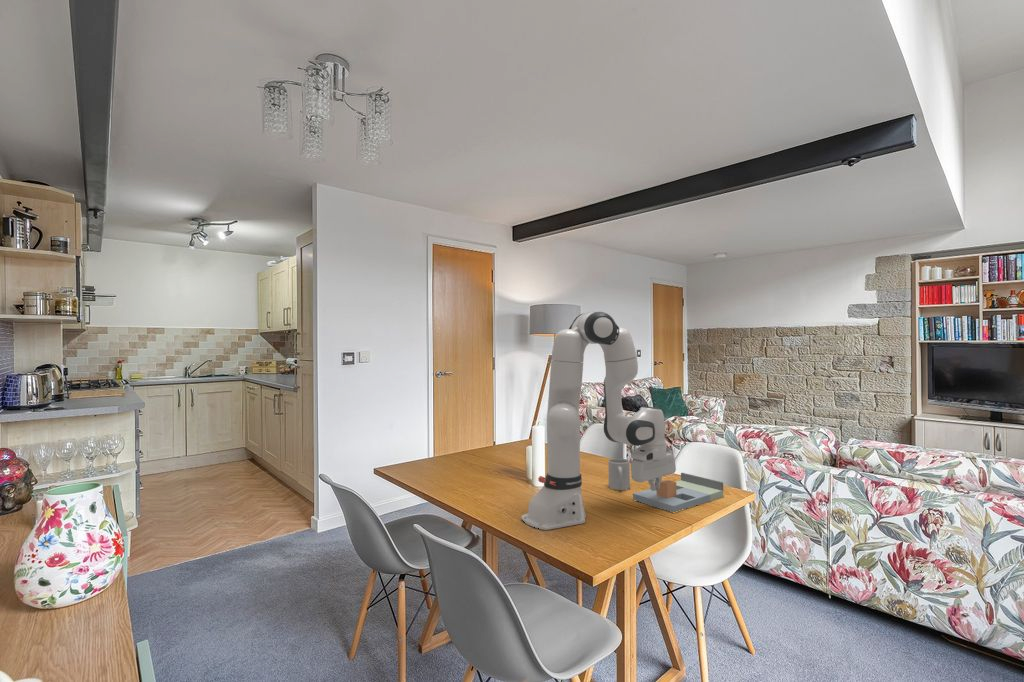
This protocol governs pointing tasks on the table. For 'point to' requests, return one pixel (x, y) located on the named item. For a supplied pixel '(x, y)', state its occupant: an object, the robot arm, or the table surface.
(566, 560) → the table surface
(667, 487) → the block
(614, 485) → the mug
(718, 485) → the platform
